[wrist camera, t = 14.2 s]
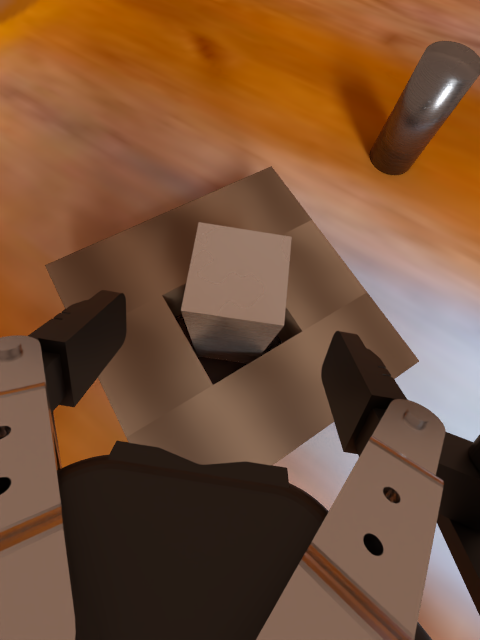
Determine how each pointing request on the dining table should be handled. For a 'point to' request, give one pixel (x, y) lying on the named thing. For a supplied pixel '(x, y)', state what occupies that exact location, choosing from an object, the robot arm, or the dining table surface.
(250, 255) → the square bit
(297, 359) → the socket block
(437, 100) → the round bit
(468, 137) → the dining table surface
